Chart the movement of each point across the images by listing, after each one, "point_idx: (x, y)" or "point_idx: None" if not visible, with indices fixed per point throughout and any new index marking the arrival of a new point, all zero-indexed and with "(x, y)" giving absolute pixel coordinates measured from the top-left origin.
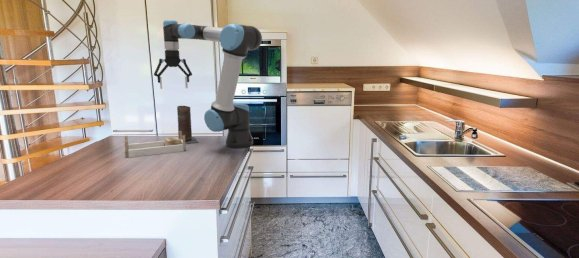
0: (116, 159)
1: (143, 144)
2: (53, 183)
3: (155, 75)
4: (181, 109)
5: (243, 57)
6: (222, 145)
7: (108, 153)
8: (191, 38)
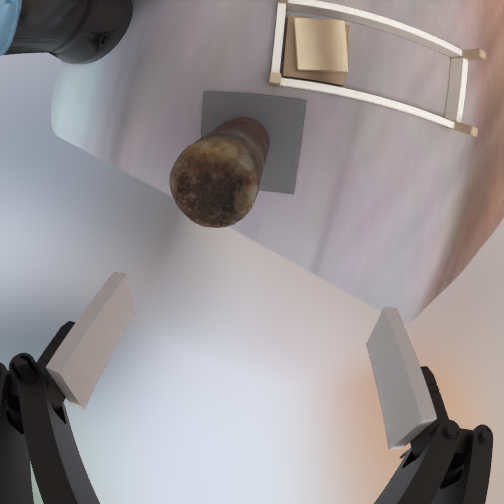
0: None
1: (412, 107)
2: None
3: (480, 427)
4: (238, 145)
5: None
6: (139, 23)
7: (482, 136)
8: None
